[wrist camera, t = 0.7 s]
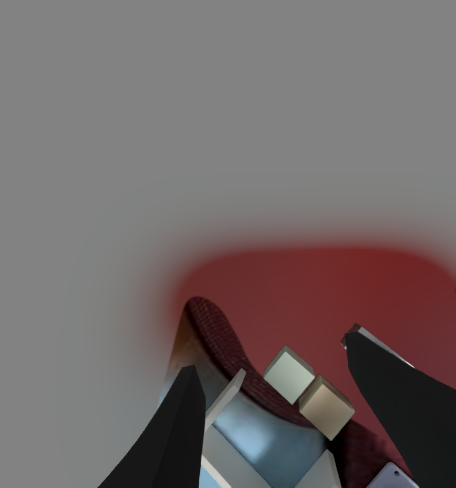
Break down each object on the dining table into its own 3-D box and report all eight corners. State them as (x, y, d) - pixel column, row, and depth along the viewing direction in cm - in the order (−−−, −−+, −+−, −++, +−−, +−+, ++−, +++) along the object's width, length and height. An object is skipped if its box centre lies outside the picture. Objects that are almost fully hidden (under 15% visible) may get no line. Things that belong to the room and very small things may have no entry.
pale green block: (312, 367, 31) (315, 377, 28) (291, 392, 31) (292, 404, 28) (285, 344, 32) (285, 351, 29) (265, 368, 32) (263, 378, 29)
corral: (332, 454, 29) (342, 490, 24) (284, 510, 29) (284, 557, 25) (241, 367, 32) (233, 384, 27) (199, 419, 33) (184, 445, 28)
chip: (348, 398, 29) (355, 412, 26) (326, 424, 30) (331, 440, 27) (319, 373, 30) (322, 384, 27) (298, 398, 31) (299, 412, 28)
